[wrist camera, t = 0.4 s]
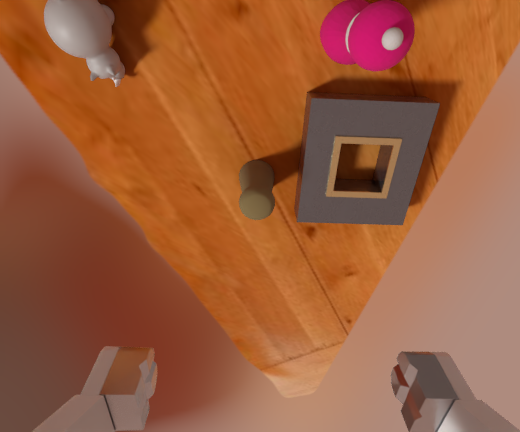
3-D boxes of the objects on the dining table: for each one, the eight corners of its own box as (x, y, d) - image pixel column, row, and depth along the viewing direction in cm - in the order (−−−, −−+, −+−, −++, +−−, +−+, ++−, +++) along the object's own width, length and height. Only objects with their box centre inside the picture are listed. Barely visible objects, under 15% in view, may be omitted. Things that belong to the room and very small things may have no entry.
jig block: (307, 91, 49) (311, 98, 45) (425, 97, 50) (441, 103, 46) (294, 208, 60) (297, 222, 55) (393, 211, 60) (403, 226, 56)
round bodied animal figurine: (100, 73, 50) (87, 107, 45) (43, -16, 41) (18, 13, 36) (145, 62, 49) (136, 94, 44) (97, -32, 40) (79, -5, 35)
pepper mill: (339, -13, 43) (396, -34, 26) (380, 23, 45) (458, 25, 28) (305, 40, 46) (336, 52, 29) (345, 71, 48) (395, 100, 31)
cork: (280, 169, 56) (286, 199, 46) (264, 197, 58) (266, 232, 49) (248, 154, 54) (246, 182, 45) (233, 184, 57) (228, 217, 48)
